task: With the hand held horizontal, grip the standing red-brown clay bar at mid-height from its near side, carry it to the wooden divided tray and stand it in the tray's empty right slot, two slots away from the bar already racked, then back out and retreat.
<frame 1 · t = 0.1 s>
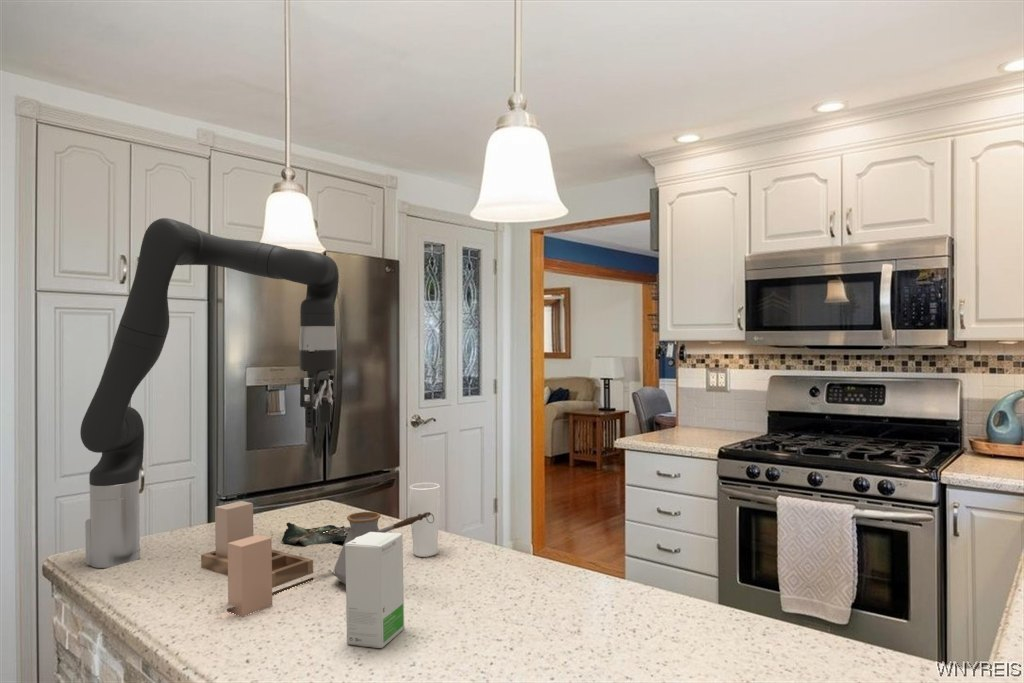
hand: (318, 424, 142), 29 cm above the countertop, tool pointing down, fingers open, 8 cm apart
wooden divided tray: (256, 577, 134), on the countertop
decorative rock: (323, 543, 158), on the countertop
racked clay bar: (234, 563, 138), point 1 cm above the countertop, touching wooden divided tray
clay bar: (250, 608, 119), on the countertop
drinking glass: (425, 554, 148), on the countertop
skincare box: (375, 637, 107), on the countertop
coffee pot: (385, 586, 129), on the countertop
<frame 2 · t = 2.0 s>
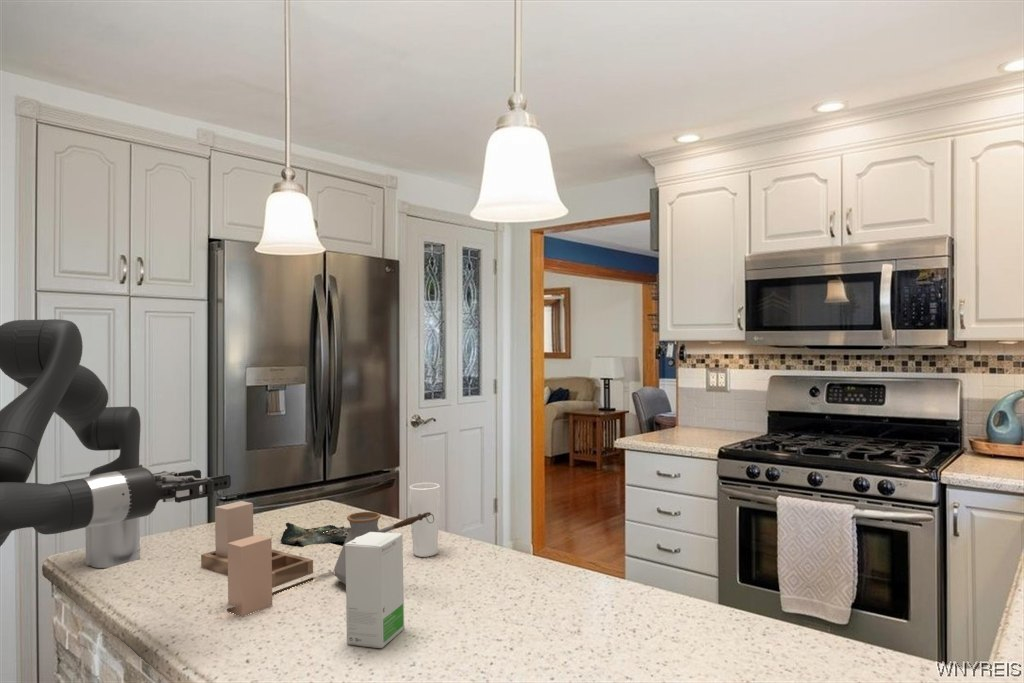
hand: (214, 478, 114), 24 cm above the countertop, tool horizontal, fingers open, 8 cm apart
nothing on the countertop moved.
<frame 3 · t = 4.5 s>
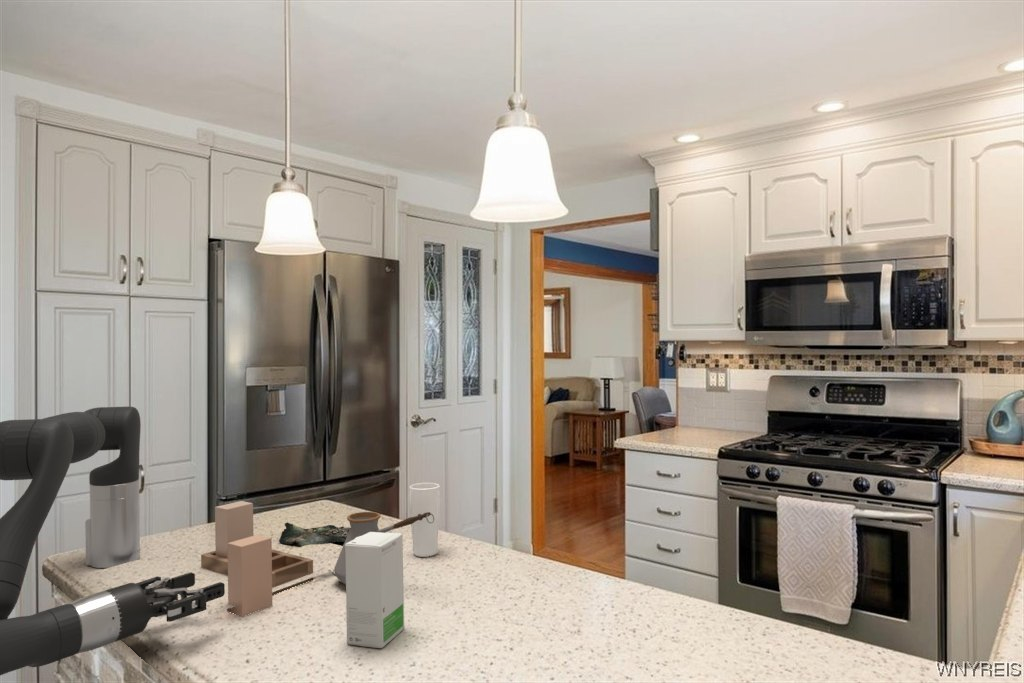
hand: (208, 583, 112), 7 cm above the countertop, tool horizontal, fingers open, 8 cm apart
nothing on the countertop moved.
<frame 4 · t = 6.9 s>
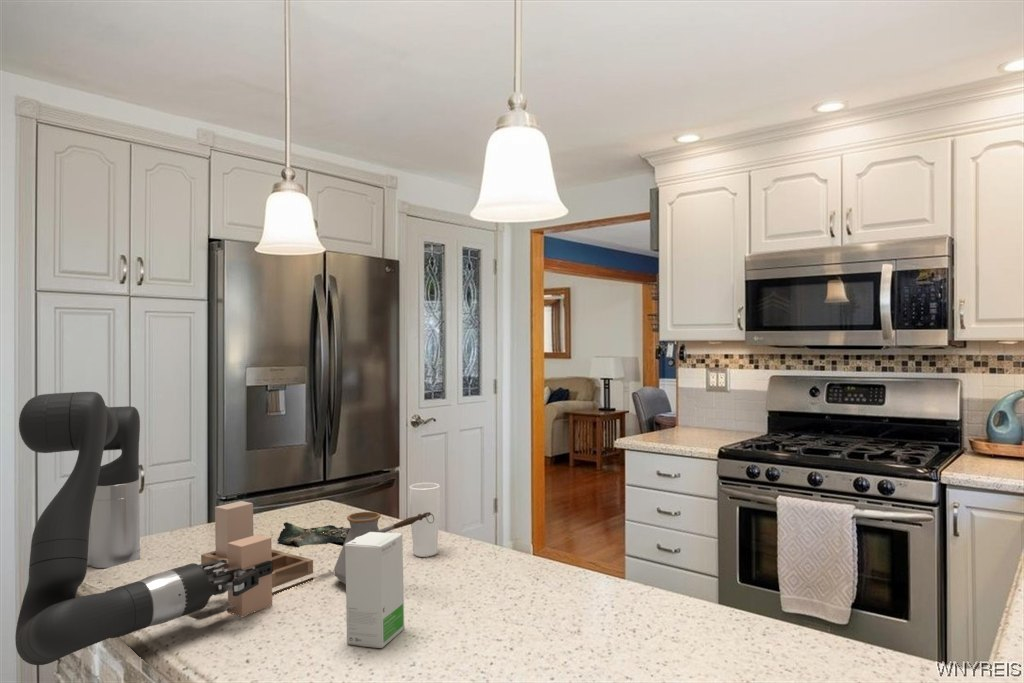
hand: (263, 564, 121), 7 cm above the countertop, tool horizontal, fingers closed on clay bar, 4 cm apart
clay bar: (250, 608, 119), on the countertop, touching gripper
everything else where it was.
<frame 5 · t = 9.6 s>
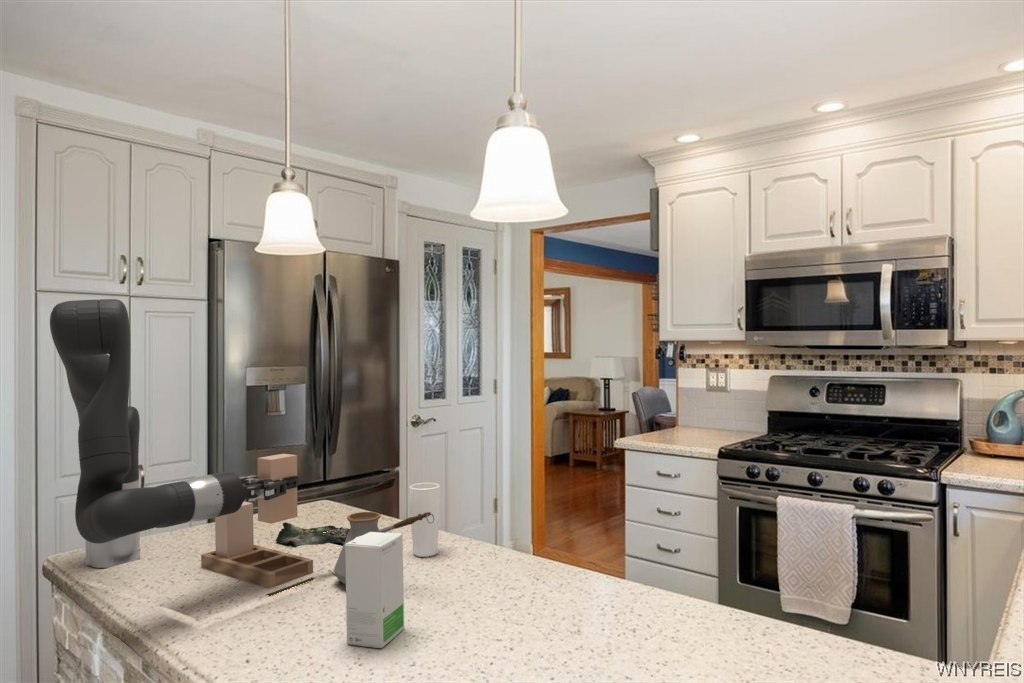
hand: (289, 479, 133), 20 cm above the countertop, tool horizontal, fingers closed on clay bar, 4 cm apart
clay bar: (277, 518, 130), point 13 cm above the countertop, touching gripper
everything else where it was.
when the fingers open (10 cm above the countertop, at t = 12.3 s): clay bar drops 1 cm, resting on wooden divided tray.
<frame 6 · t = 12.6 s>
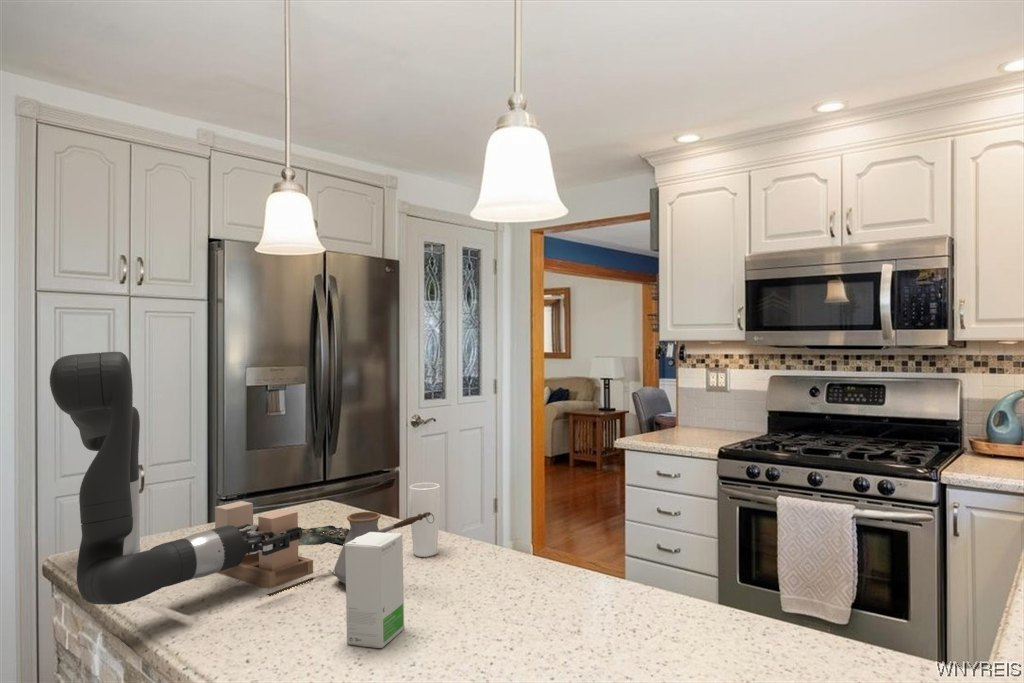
hand: (288, 529, 132), 10 cm above the countertop, tool horizontal, fingers open, 6 cm apart
clay bar: (279, 576, 130), point 2 cm above the countertop, touching wooden divided tray
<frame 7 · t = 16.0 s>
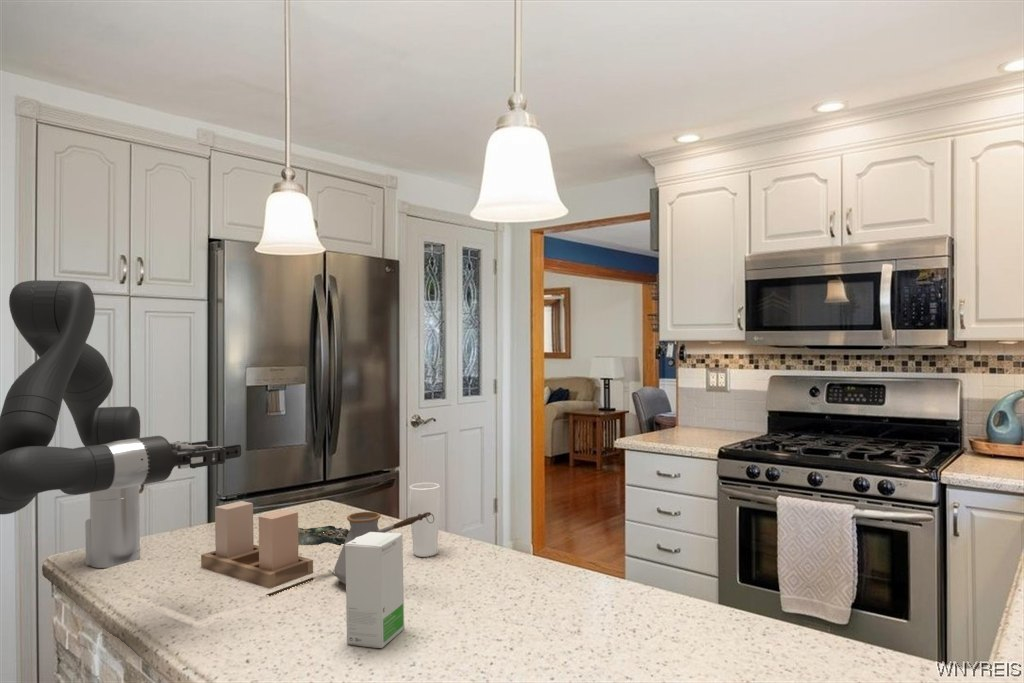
hand: (225, 448, 121), 28 cm above the countertop, tool horizontal, fingers open, 8 cm apart
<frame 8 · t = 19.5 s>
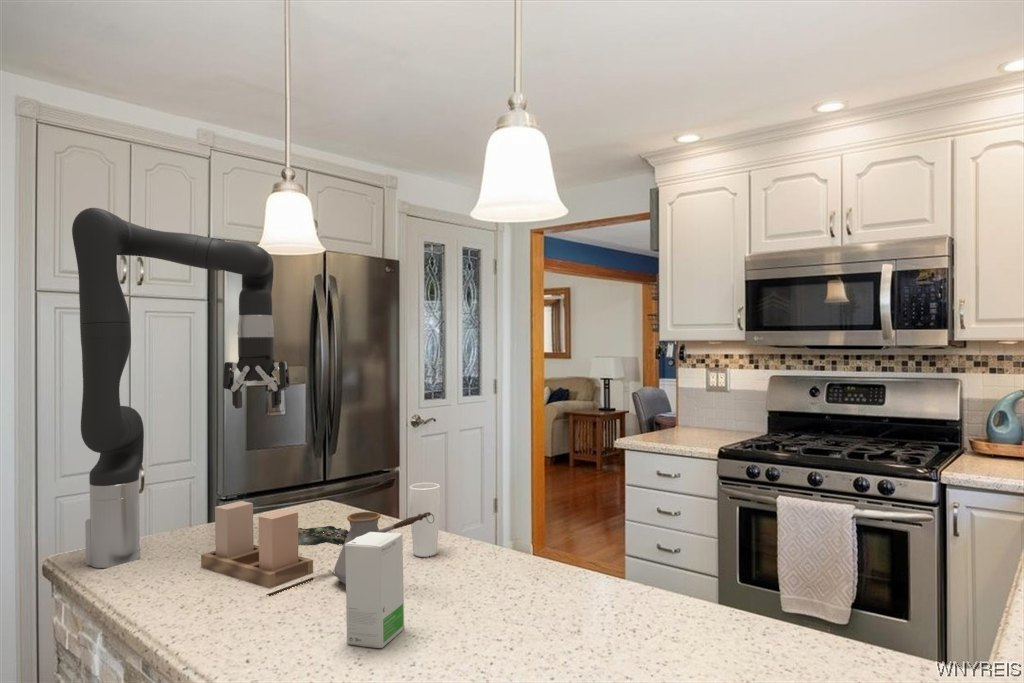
hand: (256, 408, 151), 32 cm above the countertop, tool pointing down, fingers open, 8 cm apart
at the end: clay bar 0.2 cm from the target spot on the wooden divided tray, point 1.5 cm above the wooden divided tray's base; clay bar tilted 0°; the gripper is holding nothing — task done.
